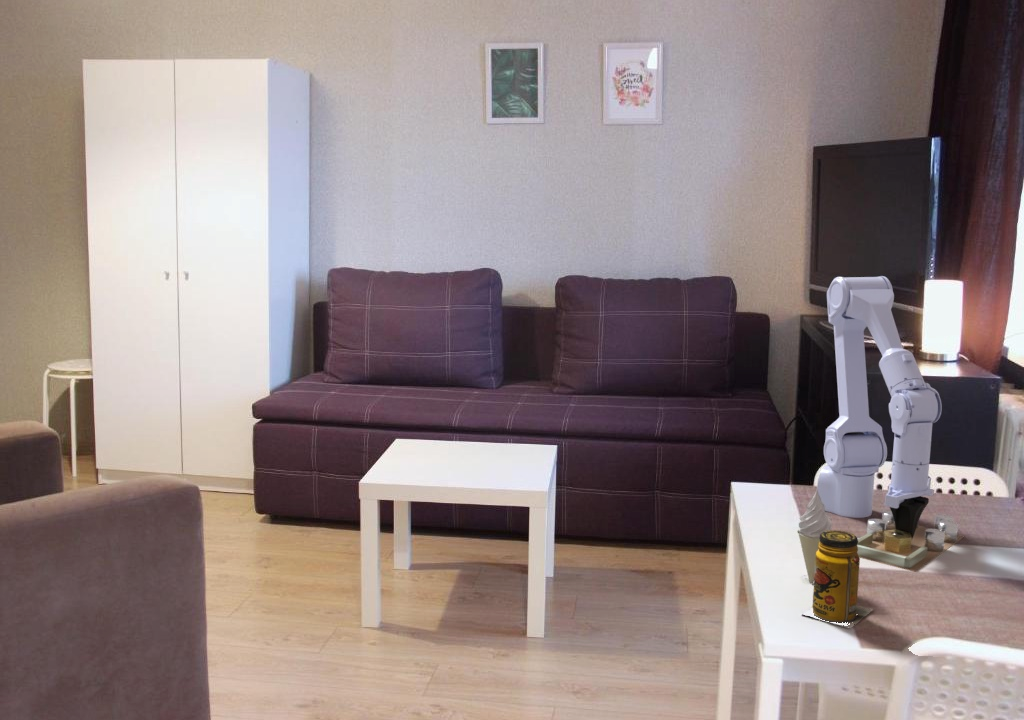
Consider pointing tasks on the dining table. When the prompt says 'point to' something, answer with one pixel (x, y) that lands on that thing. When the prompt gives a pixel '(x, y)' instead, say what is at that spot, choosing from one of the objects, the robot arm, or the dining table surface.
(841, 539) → the condiment
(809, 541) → the ice cream cone
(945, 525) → the spacers
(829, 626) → the dining table surface
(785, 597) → the dining table surface
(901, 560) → the tan tray
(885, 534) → the nut
